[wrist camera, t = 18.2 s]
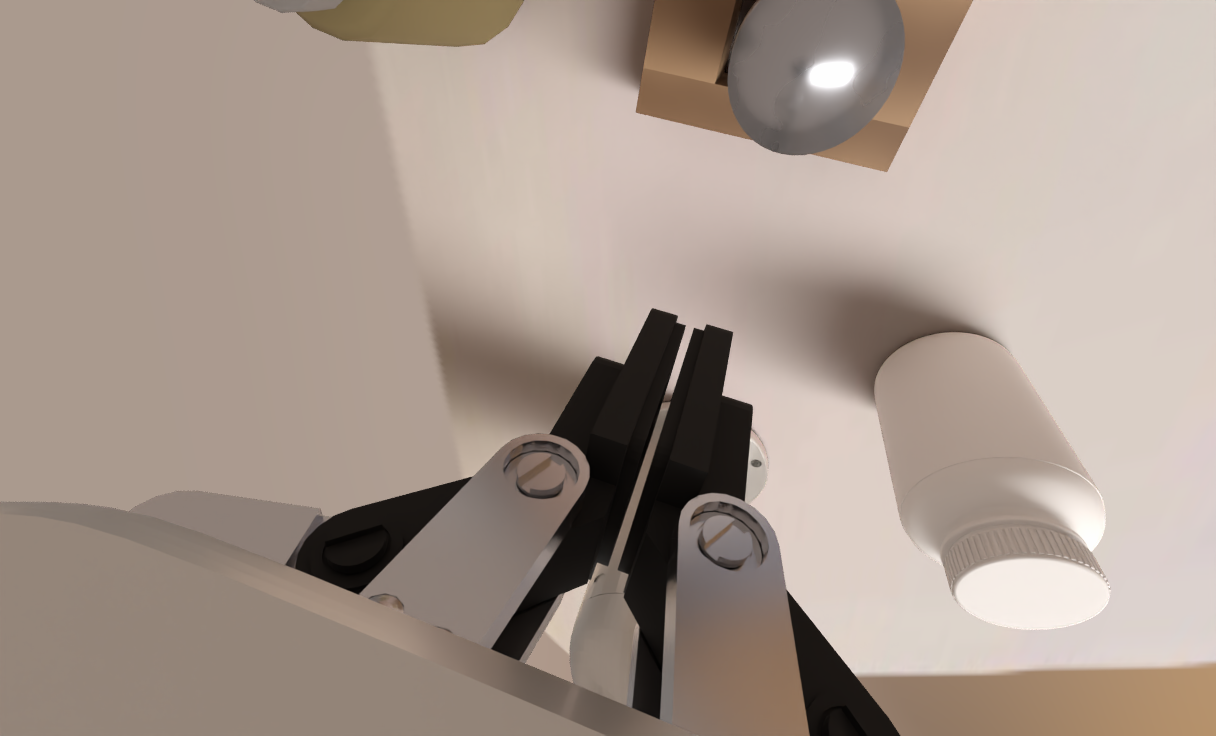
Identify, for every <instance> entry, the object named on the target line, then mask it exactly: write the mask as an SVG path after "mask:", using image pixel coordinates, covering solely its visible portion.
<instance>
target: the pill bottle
mask: <svg viewBox="0 0 1216 736" xmlns="http://www.w3.org/2000/svg"><path fill="white" fill-rule="evenodd" d="M874 396H875V403H876V407H877V412H878V417H879V422H880V426H881V431H882V436H883V441H884V445H885V450H886V455H887V460H888V464H889V469H890V474H891V479H892V483H893V488H894V493H895V498H896V502H897V507H898V512H899V516H900V520H901V523H902V526H903V528H904V530H905V532H906V533H907V535H908V536H909V538H910V539H911V541H912V542H913V543H914V544H915V545H916V547H917V548H918V549H919V550H920V551H921V552H923V553H924V554H925V555H926V556H928V557H929V558H931V559H932V560H934V561H935V562H937V563H939V564H941V565H943V566H944V568H945V572H946V576H947V580H948V583H949V587H950V590H951V593H952V596H953V597H954V599H955V601H956V602H957V603H958V604H959V605H960V606H961V607H962V608H963V609H964V610H965V611H967V612H968V613H970V614H971V615H973V616H975V617H977V618H979V619H981V620H983V621H986V622H989V623H992V624H995V625H999V626H1004V627H1009V628H1016V629H1028V630H1043V629H1055V628H1062V627H1067V626H1071V625H1075V624H1078V623H1081V622H1084V621H1086V620H1088V619H1090V618H1092V617H1094V616H1095V615H1097V614H1098V613H1100V612H1101V611H1102V610H1103V609H1104V608H1105V606H1106V605H1107V603H1108V601H1109V597H1110V592H1111V589H1110V585H1109V582H1108V580H1107V579H1106V577H1105V575H1104V573H1103V571H1102V569H1101V568H1100V566H1099V564H1098V562H1097V561H1096V559H1095V557H1094V555H1093V554H1092V552H1091V551H1092V550H1093V549H1094V548H1095V547H1096V546H1097V544H1098V543H1099V541H1100V540H1101V538H1102V535H1103V533H1104V529H1105V524H1106V514H1105V506H1104V501H1103V499H1102V496H1101V494H1100V492H1099V491H1098V489H1097V487H1096V485H1095V484H1094V482H1093V480H1092V479H1091V477H1090V476H1089V474H1088V472H1087V471H1086V469H1085V468H1084V466H1083V464H1082V463H1081V461H1080V460H1079V458H1078V457H1077V455H1076V453H1075V452H1074V450H1073V449H1072V447H1071V445H1070V444H1069V442H1068V441H1067V439H1066V437H1065V436H1064V434H1063V433H1062V431H1061V429H1060V428H1059V426H1058V425H1057V423H1056V421H1055V420H1054V418H1053V417H1052V415H1051V414H1050V412H1049V410H1048V409H1047V407H1046V406H1045V404H1044V402H1043V401H1042V399H1041V398H1040V396H1039V394H1038V393H1037V391H1036V390H1035V388H1034V386H1033V385H1032V383H1031V382H1030V380H1029V378H1028V377H1027V375H1026V374H1025V372H1024V370H1023V369H1022V367H1021V366H1020V364H1019V363H1018V361H1017V360H1016V359H1015V358H1014V357H1013V355H1012V354H1011V353H1010V352H1009V351H1008V350H1007V349H1006V348H1004V347H1003V346H1002V345H1000V344H999V343H997V342H995V341H993V340H991V339H989V338H986V337H983V336H980V335H976V334H971V333H963V332H946V333H938V334H933V335H928V336H925V337H922V338H919V339H916V340H914V341H911V342H909V343H907V344H906V345H904V346H902V347H901V348H899V349H898V350H896V351H895V352H894V353H893V354H892V355H890V356H889V357H888V358H887V360H886V361H885V362H884V363H883V365H882V366H881V368H880V369H879V371H878V374H877V376H876V380H875V385H874Z"/></svg>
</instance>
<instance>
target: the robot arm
mask: <svg viewBox="0 0 1216 736" xmlns="http://www.w3.org/2000/svg"><path fill="white" fill-rule="evenodd" d="M677 318H678V316H677V315H674V314H670V313H667V312H664V311H660V310H657V309H653V308H652V309H651V311H650V313H649V315H648V317H647V319H646V321H645V323H644V325H643V327H642V329H641V332H640V334H639V336H638V338H637V340H636V342H635V344H634V346H633V348H632V350H631V352H630V354H629V356H628V358H627V360H626V362H625V364H621V363H618V362H614V361H611V360H608V359H605V358H602V357H599V356H597V357H596V358H595V359H594V360H593V362H592V364H591V365H590V367H589V369H588V370H587V372H586V374H585V375H584V377H583V379H582V380H581V382H580V384H579V385H578V387H577V389H576V391H575V392H574V394H573V396H572V397H571V399H570V401H569V402H568V404H567V406H566V407H565V409H564V411H563V412H562V414H561V416H560V417H559V419H558V421H557V422H556V424H555V426H554V428H553V429H552V431H551V433H550V434H540V433H537V434H529V435H523V436H521V437H518V438H516V439H513V440H511V441H510V442H508V443H507V444H506V445H504V446H503V447H502V448H501V449H500V450H499V451H498V452H497V453H496V454H495V455H494V456H493V457H492V458H491V459H490V460H489V461H488V462H487V463H486V464H485V465H484V466H483V467H482V468H481V469H480V470H479V471H478V472H477V473H476V474H475V475H474V476H473V477H469V478H465V479H462V480H458V481H455V482H451V483H447V484H443V485H439V486H436V487H432V488H429V489H425V490H421V491H417V492H413V493H409V494H406V495H402V496H399V497H395V498H391V499H387V500H383V501H380V502H376V503H372V504H369V505H365V506H361V507H357V508H354V509H350V510H348V511H345V512H343V513H340V514H337V515H335V516H333V517H328V516H322V512H321V509H319V508H312V507H306V506H298V505H292V504H285V503H277V502H271V501H263V500H257V499H250V498H243V497H236V496H229V495H222V494H215V493H208V492H201V491H176V492H172V493H168V494H164V495H160V496H156V497H154V498H152V499H150V500H148V501H146V502H144V503H142V504H139V505H137V506H135V507H134V508H133V509H131V510H130V511H125V510H120V509H116V508H110V507H103V506H95V505H88V504H78V503H61V502H60V503H59V502H0V736H900V735H899V733H898V732H897V730H896V728H895V727H894V725H893V724H892V722H891V721H890V720H889V718H888V717H887V715H886V714H885V713H884V712H883V711H882V709H881V708H880V707H879V705H878V704H877V703H876V702H875V700H874V699H873V698H872V696H870V694H869V693H868V691H867V690H866V689H865V688H864V686H863V685H862V684H861V683H860V681H859V680H858V679H857V678H856V676H855V675H854V674H853V673H852V671H851V670H850V669H849V668H848V666H847V665H846V664H845V662H844V661H843V660H842V659H841V657H840V656H839V655H838V654H837V652H836V651H835V650H834V649H833V647H832V646H831V645H830V644H829V642H828V641H827V640H826V639H825V637H824V636H823V635H822V634H821V632H820V631H819V630H818V629H817V627H816V626H815V625H814V623H813V622H812V621H811V620H810V618H809V617H808V616H807V615H806V613H805V612H804V611H803V610H802V608H801V607H800V606H799V605H798V603H797V602H796V601H795V600H794V598H793V597H792V596H791V595H790V593H789V592H788V591H787V590H786V585H785V578H784V572H783V566H782V560H781V553H780V547H779V543H778V540H777V537H776V534H775V532H774V530H773V529H772V527H771V525H770V524H769V522H768V521H767V519H766V518H765V517H764V516H763V515H761V514H760V513H759V512H758V511H757V510H756V509H755V508H754V507H752V506H751V505H749V504H750V503H751V502H752V501H754V500H755V499H756V498H757V497H758V496H759V495H760V493H761V492H762V491H763V489H764V487H765V484H766V482H767V476H768V457H767V454H766V451H765V448H764V446H763V444H762V443H761V441H760V439H759V438H758V436H757V435H756V434H755V433H754V432H753V431H752V430H751V426H752V414H753V406H752V405H751V404H747V403H744V402H741V401H738V400H735V399H732V398H728V397H725V396H722V392H723V386H724V381H725V375H726V370H727V364H728V358H729V353H730V347H731V341H732V336H733V332H731V331H728V330H724V329H721V328H717V327H714V326H711V325H706V327H705V330H704V331H703V330H699V329H696V328H694V330H693V333H692V336H691V340H690V343H689V346H688V349H687V352H686V355H685V358H684V361H683V365H682V368H681V371H680V374H679V377H678V380H677V383H676V386H675V390H674V393H673V396H672V399H671V402H664V403H662V402H663V399H664V395H665V392H666V389H667V386H668V382H669V379H670V376H671V373H672V369H673V366H674V363H675V360H676V356H677V353H678V350H679V347H680V343H681V340H682V337H683V334H684V330H685V327H686V325H682V324H679V323H676V321H677ZM588 580H590V581H589V583H588V586H587V589H586V592H585V595H584V598H583V601H582V604H581V606H580V609H579V612H578V615H577V618H576V621H575V624H574V627H573V631H572V635H571V641H570V667H571V674H572V679H573V683H574V684H573V683H571V682H568V681H566V680H563V679H561V678H559V677H556V676H554V675H551V674H549V673H547V672H544V671H541V670H539V669H537V668H535V667H532V666H530V665H527V664H525V663H526V661H527V659H528V657H529V656H530V654H531V653H532V651H533V649H534V647H535V646H536V644H537V642H538V641H539V639H540V637H541V635H542V634H543V632H544V630H545V629H546V627H547V625H548V624H549V622H550V620H551V618H552V617H553V615H554V613H555V612H556V610H557V608H558V607H559V605H560V603H561V600H562V598H563V595H564V593H565V592H568V591H570V590H572V589H575V588H577V587H580V586H582V585H585V584H587V582H588Z"/></svg>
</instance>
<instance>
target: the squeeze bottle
mask: <svg viewBox="0 0 1216 736" xmlns="http://www.w3.org/2000/svg"><path fill="white" fill-rule="evenodd" d="M254 1H255V2H257V3H259V4H262V5H264V6H266V7H269V8H271V9H274V10H276V11H278V12H281V13H285V12H296V13H297V14H298V15H299V16H300V17H302V18H303V19H304V20H305V21H306V22H307V23H308V24H309V25H311V27H312V28H315V29H317V30H319V31H322V32H324V33H327V34H329V35H332V36H334V37H336V38H339V39H341V40H345V41H363V42H381V43H399V44H417V45H435V46H454V47H459V46H469V45H480V44H485V43H486V42H488V41H489V40H491V39H492V38H493V37H495V36H496V35H497V34H499V33H500V32H501V31H503V30H504V29H505V28H507V27H508V26H509V24H510V23H511V21H512V19H513V18H514V16H515V15H516V13H517V11H518V10H519V8H520V6H521V5H522V3H523V1H524V0H254Z"/></svg>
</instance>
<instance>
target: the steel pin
mask: <svg viewBox="0 0 1216 736" xmlns="http://www.w3.org/2000/svg"><path fill="white" fill-rule="evenodd" d="M904 48H905V32H904V24H903V20H902V16H901V12H900V9H899V7H898V5H897V3H896V1H895V0H757V1H756V2H755V3H754V4H753V6H752V7H751V9H750V10H749V11H748V13H747V14H746V16H745V18H744V20H743V21H742V23H741V25H740V27H739V30H738V32H737V35H736V37H735V40H734V44H733V47H732V52H731V57H730V62H729V68H728V94H729V99H730V104H731V107H732V110H733V113H734V115H735V117H736V119H737V121H738V123H739V125H740V126H741V128H742V129H743V130H744V131H745V133H746V134H747V135H748V136H749V137H750V138H751V139H753V140H754V141H755V142H756V143H758V144H759V145H761V146H763V147H764V148H766V149H769V150H771V151H773V152H777V153H781V154H787V155H807V154H814V153H817V152H821V151H825V150H827V149H830V148H833V147H835V146H837V145H839V144H841V143H843V142H845V141H846V140H848V139H849V138H851V137H852V136H854V135H855V134H856V133H858V132H859V131H860V130H861V129H862V128H864V127H865V126H866V125H867V124H868V123H869V122H870V121H871V120H872V119H873V118H874V116H875V115H876V114H877V113H878V112H879V110H880V109H881V108H882V106H883V105H884V103H885V102H886V100H887V99H888V97H889V95H890V93H891V91H892V89H893V88H894V86H895V83H896V81H897V78H898V75H899V73H900V69H901V65H902V62H903V55H904Z"/></svg>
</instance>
